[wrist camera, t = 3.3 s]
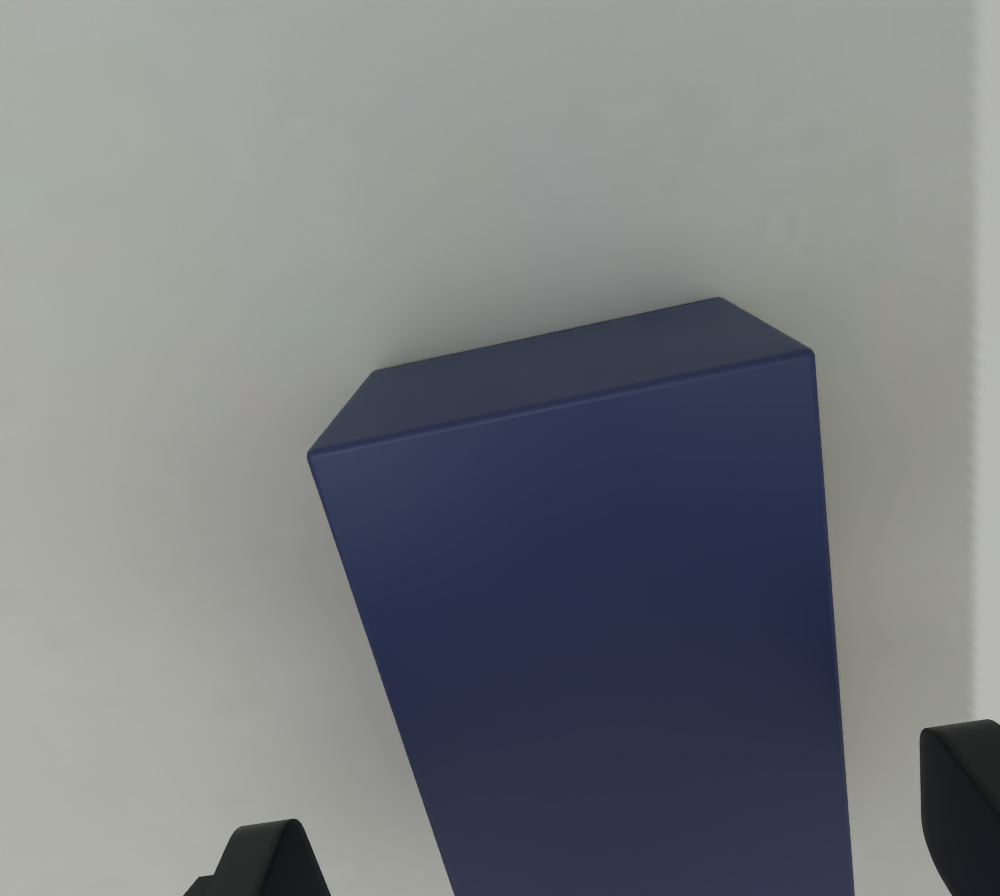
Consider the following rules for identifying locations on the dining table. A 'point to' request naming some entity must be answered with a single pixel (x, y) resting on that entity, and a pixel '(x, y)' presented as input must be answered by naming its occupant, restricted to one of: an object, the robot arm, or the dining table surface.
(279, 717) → the dining table surface
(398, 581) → the book
